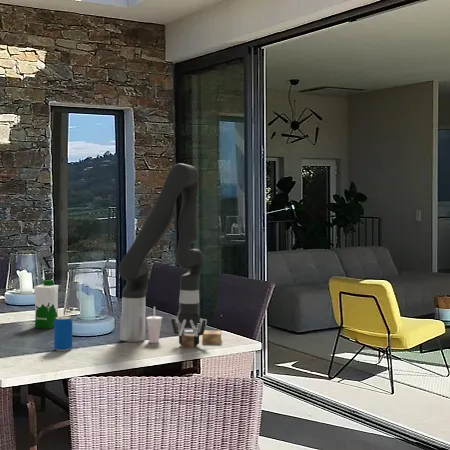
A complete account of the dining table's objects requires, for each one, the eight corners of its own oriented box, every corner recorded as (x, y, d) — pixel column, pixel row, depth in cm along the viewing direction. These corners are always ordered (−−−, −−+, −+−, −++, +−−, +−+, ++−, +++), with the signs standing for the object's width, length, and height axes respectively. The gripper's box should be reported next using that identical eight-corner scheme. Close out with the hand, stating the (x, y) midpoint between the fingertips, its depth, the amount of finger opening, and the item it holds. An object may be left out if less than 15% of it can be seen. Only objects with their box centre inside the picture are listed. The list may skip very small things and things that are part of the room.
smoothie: (147, 344, 259) (147, 308, 258) (144, 340, 265) (144, 305, 264) (163, 343, 260) (163, 307, 260) (160, 339, 266) (160, 304, 266)
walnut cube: (181, 347, 254) (181, 335, 254) (184, 345, 259) (184, 333, 258) (193, 348, 253) (193, 336, 253) (195, 345, 258) (196, 334, 258)
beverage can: (65, 346, 252) (65, 315, 252) (75, 349, 248) (75, 317, 248) (50, 349, 247) (50, 317, 247) (61, 352, 243) (61, 319, 243)
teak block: (202, 344, 261) (202, 333, 261) (203, 340, 268) (203, 330, 268) (220, 344, 261) (220, 334, 261) (221, 340, 268) (221, 330, 268)
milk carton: (60, 325, 292) (60, 280, 291) (50, 329, 283) (50, 282, 282) (42, 324, 294) (42, 279, 293) (31, 328, 285) (31, 281, 284)
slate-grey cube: (184, 341, 264) (184, 331, 264) (184, 339, 268) (184, 329, 268) (194, 341, 264) (195, 331, 264) (194, 339, 268) (194, 329, 268)
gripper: (209, 300, 258) (209, 344, 258) (173, 299, 260) (173, 342, 261) (205, 303, 250) (205, 348, 251) (168, 302, 253) (168, 346, 253)
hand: (188, 345), depth 256 cm, fingers open, 5 cm apart
